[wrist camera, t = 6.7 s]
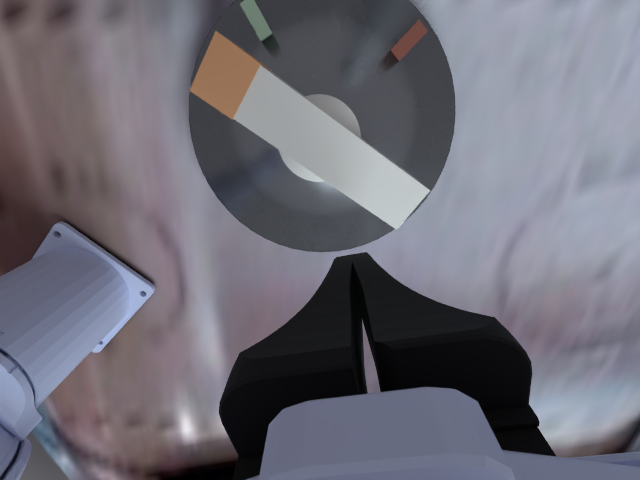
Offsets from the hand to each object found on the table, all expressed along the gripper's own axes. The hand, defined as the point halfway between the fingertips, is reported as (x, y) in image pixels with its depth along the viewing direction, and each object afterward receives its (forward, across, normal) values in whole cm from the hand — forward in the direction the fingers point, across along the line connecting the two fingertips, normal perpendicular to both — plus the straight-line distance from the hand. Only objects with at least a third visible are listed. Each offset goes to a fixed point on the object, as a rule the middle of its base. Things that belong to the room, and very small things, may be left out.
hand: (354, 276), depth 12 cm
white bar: (+8, +1, -5) cm, 9 cm away
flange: (+9, +1, -5) cm, 10 cm away
